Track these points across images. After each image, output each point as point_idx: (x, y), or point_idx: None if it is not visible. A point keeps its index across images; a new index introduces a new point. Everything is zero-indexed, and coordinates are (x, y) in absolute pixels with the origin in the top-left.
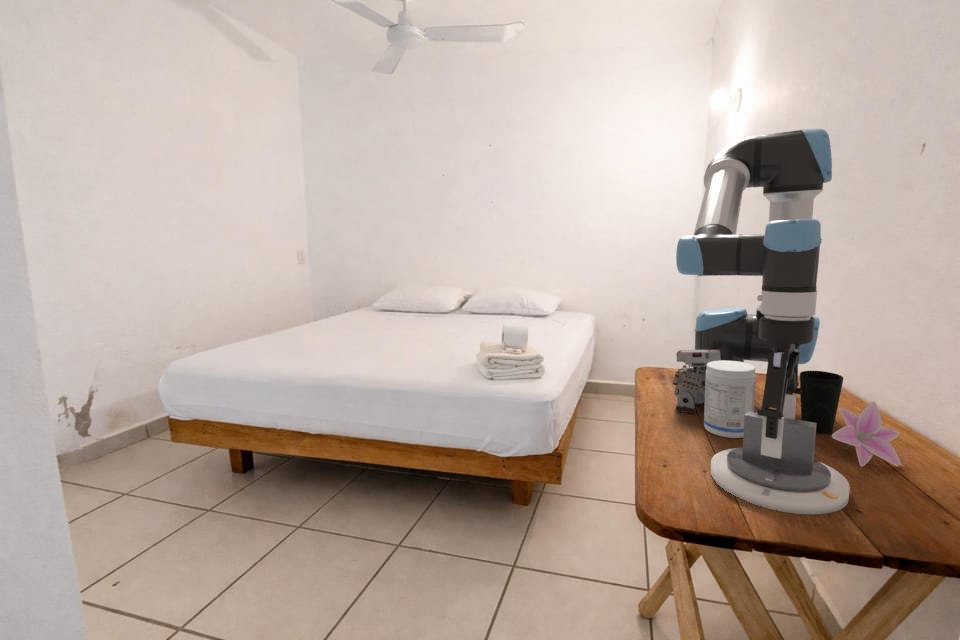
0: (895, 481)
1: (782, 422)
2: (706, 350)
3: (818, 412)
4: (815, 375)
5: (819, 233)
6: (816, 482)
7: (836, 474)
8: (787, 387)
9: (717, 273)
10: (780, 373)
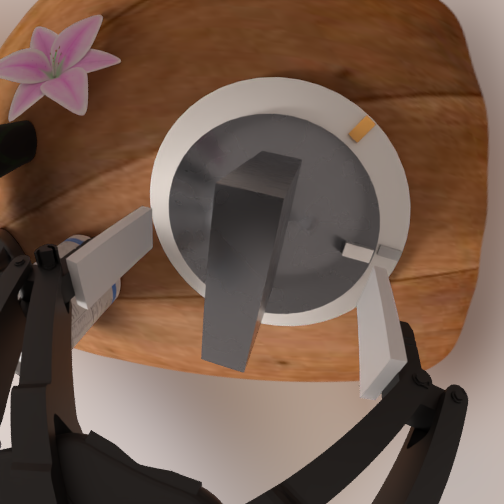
0: (162, 9)
1: (403, 350)
2: None
3: (8, 149)
4: None
5: None
6: (343, 155)
7: (227, 97)
8: (63, 304)
9: None
10: None
